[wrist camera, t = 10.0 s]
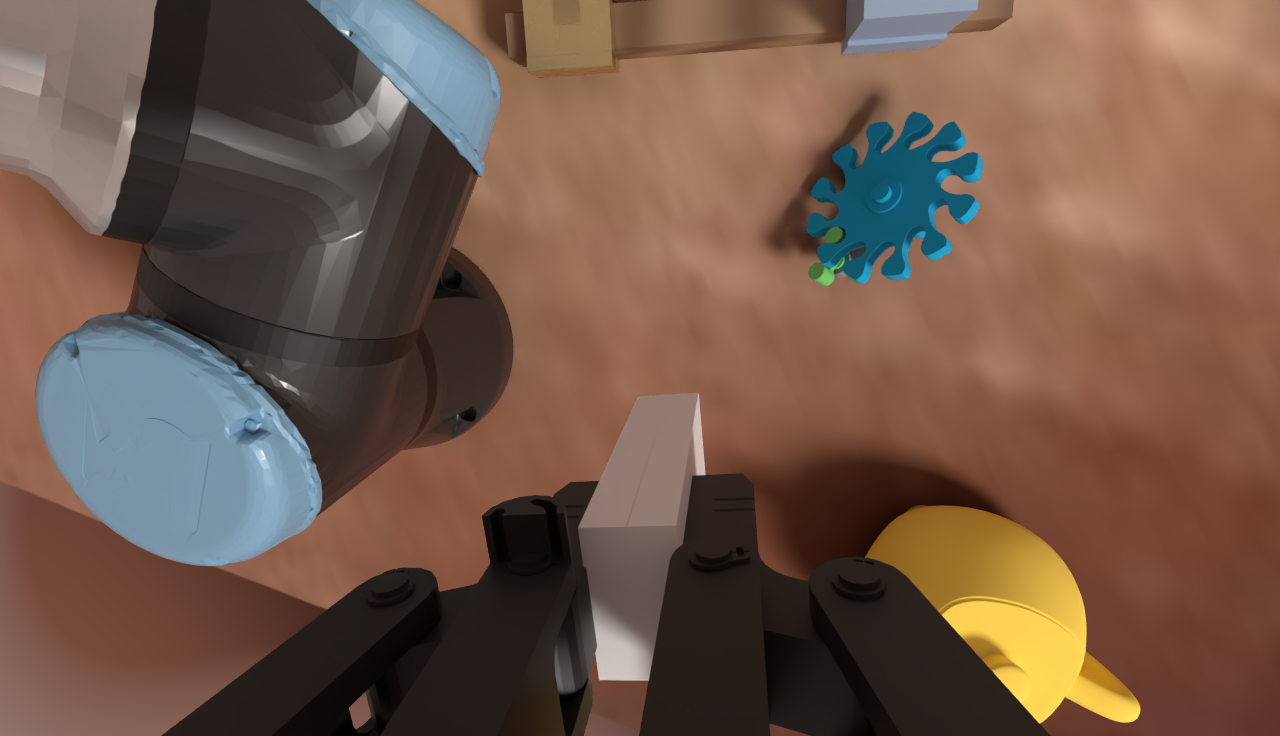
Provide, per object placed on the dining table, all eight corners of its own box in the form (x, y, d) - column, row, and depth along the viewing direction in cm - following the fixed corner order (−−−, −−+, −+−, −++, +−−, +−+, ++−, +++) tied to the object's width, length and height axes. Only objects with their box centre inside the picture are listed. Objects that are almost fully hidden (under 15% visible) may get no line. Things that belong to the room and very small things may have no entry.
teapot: (800, 527, 48) (819, 631, 36) (1000, 451, 44) (1090, 540, 33) (878, 679, 50) (918, 823, 39) (1074, 619, 46) (1181, 756, 35)
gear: (899, 75, 38) (1020, 171, 32) (937, 125, 42) (1051, 219, 36) (761, 218, 42) (844, 325, 36) (808, 251, 46) (889, 352, 40)
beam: (524, 66, 42) (508, 57, 39) (520, 25, 41) (504, 13, 39) (991, 30, 38) (1011, 17, 35) (995, -17, 37) (1016, -34, 34)
